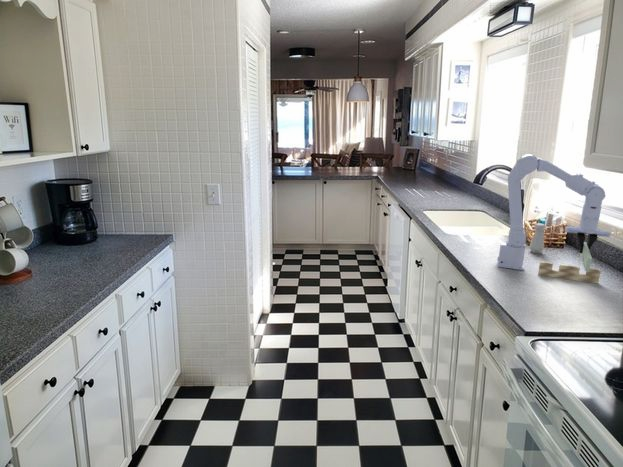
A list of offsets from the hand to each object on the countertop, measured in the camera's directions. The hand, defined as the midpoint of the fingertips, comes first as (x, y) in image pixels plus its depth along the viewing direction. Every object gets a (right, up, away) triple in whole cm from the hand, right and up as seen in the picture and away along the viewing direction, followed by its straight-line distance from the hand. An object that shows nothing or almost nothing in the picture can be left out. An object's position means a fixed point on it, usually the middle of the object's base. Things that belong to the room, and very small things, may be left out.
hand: (583, 253), depth 178 cm
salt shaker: (-2, -1, +33) cm, 33 cm away
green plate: (-2, -3, -4) cm, 6 cm away
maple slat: (-7, -10, -1) cm, 12 cm away
